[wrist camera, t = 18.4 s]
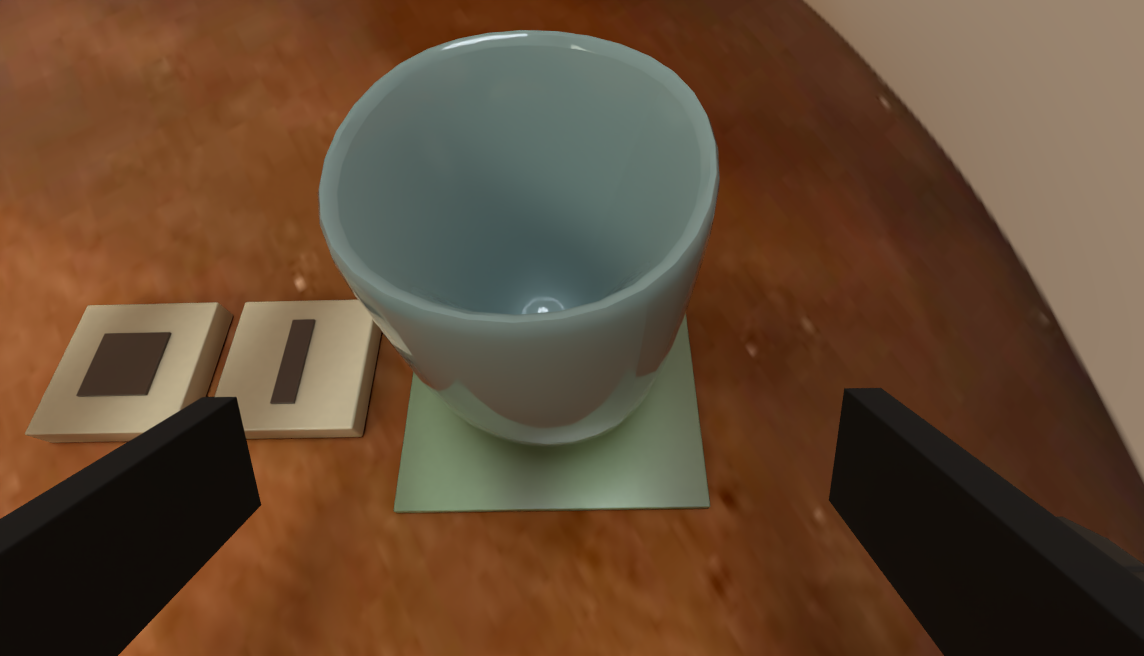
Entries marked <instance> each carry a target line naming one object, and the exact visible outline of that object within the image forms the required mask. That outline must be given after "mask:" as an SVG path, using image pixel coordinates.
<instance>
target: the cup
mask: <svg viewBox="0 0 1144 656" xmlns="http://www.w3.org/2000/svg"><path fill="white" fill-rule="evenodd" d="M718 192H719V159H718V146H717V143H716V139H715V136H714V133H713V129H712V126H711V122H710V120H709V118H708V116H707V114H706V113H705V111H704V109H703V107H702V106H701V104H700V102H699V100H698V99H697V97H696V95H695V94H694V92H693V91H692V90H691V89H690V88H689V87H688V86H687V85H686V84H685V83H684V82H683V81H682V80H681V79H680V77H679V76H678V75H677V74H676V73H675V72H673V71H672V70H670V69H669V68H667V67H666V66H664V65H663V64H661V63H659V62H658V61H656V60H655V59H653V58H652V57H650V56H648V55H646V54H643V53H641V52H638V51H636V50H634V49H631V48H629V47H626V46H624V45H622V44H618V43H614V42H611V41H607V40H603V39H599V38H595V37H591V36H586V35H579V34H572V33H565V32H557V31H529V30H520V31H507V32H494V33H486V34H481V35H476V36H471V37H465V38H460V39H456V40H453V41H450V42H447V43H444V44H441V45H438V46H436V47H433V48H430V49H427V50H425V51H423V52H421V53H419V54H417V55H416V56H414V57H412V58H410V59H408V60H406V61H404V62H402V63H401V64H399V65H398V66H396V67H395V68H394V69H392V70H391V71H390V72H388V73H387V74H386V75H385V76H383V77H382V78H381V79H379V80H378V81H377V82H375V83H374V84H373V85H372V86H371V88H370V89H369V90H368V91H367V92H366V93H365V94H364V95H363V96H362V97H361V98H360V99H359V100H358V101H357V102H356V103H355V105H354V106H353V107H352V109H351V110H350V112H349V113H348V115H347V116H346V118H345V119H344V121H343V122H342V124H341V125H340V127H339V128H338V130H337V131H336V134H335V136H334V138H333V141H332V143H331V145H330V148H329V150H328V152H327V155H326V157H325V160H324V164H323V170H322V175H321V180H320V185H319V190H318V206H319V223H320V226H321V229H322V232H323V235H324V238H325V240H326V243H327V246H328V248H329V251H330V253H331V256H332V259H333V261H334V264H335V265H336V267H337V269H338V271H339V272H340V274H341V276H342V277H343V279H344V280H345V282H346V283H347V285H348V286H349V288H350V289H351V291H352V292H353V293H354V295H355V296H356V298H357V299H358V300H359V302H360V303H361V304H362V306H363V307H364V308H365V310H366V311H367V312H368V314H369V315H370V316H371V318H372V319H373V321H374V322H375V323H376V324H377V326H378V327H379V328H380V330H381V331H382V332H383V334H384V335H385V336H386V338H387V339H388V340H389V342H390V343H391V344H392V345H393V347H394V348H395V349H396V351H397V352H398V353H399V354H400V356H401V357H402V358H403V359H404V360H405V362H406V363H407V364H408V365H409V367H410V368H411V369H412V370H413V372H414V373H415V374H416V375H417V376H418V378H419V379H420V380H421V381H422V382H423V384H424V385H425V386H426V387H427V388H428V389H429V390H430V391H431V393H432V394H433V395H434V396H435V397H436V398H437V399H438V400H439V401H441V402H442V403H443V404H444V405H445V406H446V407H448V408H449V409H450V410H452V411H453V412H454V413H456V414H457V415H458V416H460V417H461V418H462V419H464V420H465V421H466V422H468V423H469V424H471V425H472V426H474V427H476V428H478V429H480V430H482V431H484V432H487V433H489V434H491V435H493V436H495V437H498V438H500V439H503V440H507V441H511V442H515V443H519V444H522V445H530V446H541V447H556V446H568V445H574V444H578V443H582V442H585V441H589V440H592V439H595V438H597V437H599V436H601V435H603V434H605V433H607V432H609V431H610V430H612V429H614V428H616V427H617V426H618V425H619V424H621V423H622V422H623V421H624V420H625V419H626V418H627V417H628V416H629V415H631V414H632V413H633V412H634V411H635V410H636V409H637V408H638V406H639V405H640V404H641V403H642V401H643V400H644V398H645V397H646V395H647V394H648V392H649V391H650V390H651V388H652V387H653V385H654V384H655V382H656V381H657V379H658V377H659V375H660V374H661V372H662V370H663V367H664V365H665V363H666V361H667V358H668V356H669V354H670V351H671V349H672V346H673V344H674V342H675V339H676V337H677V334H678V332H679V329H680V327H681V324H682V321H683V319H684V316H685V313H686V310H687V307H688V305H689V302H690V299H691V296H692V293H693V290H694V287H695V284H696V281H697V278H698V275H699V271H700V268H701V265H702V262H703V259H704V256H705V252H706V249H707V246H708V242H709V238H710V235H711V230H712V225H713V219H714V214H715V208H716V203H717V197H718Z"/></svg>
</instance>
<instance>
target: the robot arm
mask: <svg viewBox="0 0 1144 656" xmlns="http://www.w3.org/2000/svg"><path fill="white" fill-rule="evenodd" d="M829 501H830V502H831V504H832V505H833V506H834V508H835V509H836V510H837V512H838V513H839V515H840V516H841V517H842V519H843V520H844V521H845V523H846V524H847V525H848V527H849V528H850V529H851V531H852V532H853V533H854V535H855V536H856V537H857V539H858V540H859V541H860V543H861V544H862V545H863V547H864V548H865V550H866V551H867V552H868V554H869V555H870V556H871V558H872V559H873V560H874V562H875V563H876V564H877V566H878V567H879V568H880V570H881V571H882V572H883V574H884V575H885V576H886V578H887V579H888V581H889V582H890V583H891V585H892V586H893V587H894V589H895V590H896V591H897V593H898V594H899V595H900V597H901V598H902V599H903V601H904V602H905V603H906V605H907V606H908V607H909V609H910V610H911V611H912V613H913V614H914V616H915V617H916V618H917V620H918V621H919V622H920V624H921V625H922V626H923V628H924V629H925V630H926V632H927V633H928V634H929V636H930V637H931V638H932V640H933V641H934V642H935V644H936V645H937V646H938V648H939V649H940V651H941V652H942V653H943V655H944V656H1144V564H1143V563H1141V562H1140V561H1138V560H1137V559H1136V558H1134V557H1133V556H1131V555H1130V554H1128V553H1127V552H1126V551H1124V550H1123V549H1121V548H1120V547H1119V546H1117V545H1116V544H1114V543H1113V542H1111V541H1110V540H1109V539H1107V538H1105V537H1103V536H1101V535H1099V534H1097V533H1095V532H1093V531H1091V530H1089V529H1087V528H1084V527H1082V526H1080V525H1078V524H1076V523H1074V522H1072V521H1070V520H1068V519H1066V518H1064V517H1055V516H1054V515H1053V514H1051V513H1050V512H1048V511H1047V510H1046V509H1044V508H1043V507H1042V506H1040V505H1039V504H1038V503H1036V502H1035V501H1034V500H1032V499H1031V498H1029V497H1028V496H1027V495H1025V494H1024V493H1023V492H1021V491H1020V490H1019V489H1017V488H1016V487H1015V486H1013V485H1012V484H1010V483H1009V482H1008V481H1006V480H1005V479H1004V478H1002V477H1001V476H1000V475H998V474H997V473H996V472H994V471H993V470H991V469H990V468H989V467H987V466H986V465H985V464H983V463H982V462H981V461H979V460H978V459H977V458H975V457H974V456H972V455H971V454H970V453H968V452H967V451H966V450H964V449H963V448H962V447H960V446H959V445H958V444H956V443H955V442H953V441H952V440H951V439H949V438H948V437H947V436H945V435H944V434H943V433H941V432H940V431H939V430H937V429H936V428H934V427H933V426H932V425H930V424H929V423H928V422H926V421H925V420H924V419H922V418H921V417H920V416H918V415H917V414H915V413H914V412H913V411H911V410H910V409H909V408H907V407H906V406H905V405H903V404H902V403H901V402H899V401H898V400H896V399H895V398H894V397H892V396H891V395H890V394H888V393H887V392H886V391H884V390H883V389H882V388H849V389H844V395H843V402H842V410H841V417H840V424H839V431H838V438H837V446H836V453H835V460H834V467H833V474H832V482H831V489H830V496H829ZM260 506H261V502H260V498H259V494H258V489H257V485H256V480H255V476H254V472H253V467H252V463H251V458H250V454H249V450H248V445H247V441H246V436H245V432H244V427H243V423H242V419H241V414H240V410H239V405H238V401H237V397H202V398H200V399H198V400H197V401H195V402H193V403H192V404H190V405H188V406H187V407H185V408H183V409H182V410H180V411H178V412H177V413H175V414H173V415H172V416H170V417H168V418H167V419H165V420H163V421H162V422H160V423H158V424H157V425H155V426H154V427H152V428H150V429H149V430H147V431H145V432H144V433H142V434H140V435H139V436H137V437H135V438H134V439H132V440H130V441H129V442H127V443H125V444H124V445H122V446H120V447H119V448H117V449H115V450H114V451H112V452H110V453H109V454H107V455H106V456H104V457H102V458H101V459H99V460H97V461H96V462H94V463H92V464H91V465H89V466H87V467H86V468H84V469H82V470H81V471H79V472H77V473H76V474H74V475H72V476H71V477H69V478H67V479H66V480H64V481H62V482H61V483H59V484H58V485H56V486H54V487H53V488H51V489H49V490H48V491H46V492H44V493H43V494H41V495H39V496H38V497H36V498H34V499H33V500H31V501H29V502H28V503H26V504H24V505H23V506H21V507H19V508H18V509H16V510H14V511H13V512H11V513H10V514H8V515H6V516H5V517H3V518H1V519H0V656H118V655H119V654H120V653H121V652H122V651H123V650H124V649H125V648H126V647H127V645H128V644H129V643H130V642H131V641H132V640H133V639H134V638H135V637H136V636H137V635H138V634H139V633H140V632H141V631H142V630H143V629H144V628H145V627H146V626H147V624H148V623H149V622H150V621H151V620H152V619H153V618H154V617H155V616H156V615H157V614H158V613H159V612H160V611H161V610H162V609H163V608H164V607H165V606H166V604H167V603H168V602H169V601H170V600H171V599H172V598H173V597H174V596H175V595H176V594H177V593H178V592H179V591H180V590H181V589H182V588H183V587H184V586H185V585H186V583H187V582H188V581H189V580H190V579H191V578H192V577H193V576H194V575H195V574H196V573H197V572H198V571H199V570H200V569H201V568H202V567H203V566H204V565H205V563H206V562H207V561H208V560H209V559H210V558H211V557H212V556H213V555H214V554H215V553H216V552H217V551H218V550H219V549H220V548H221V547H222V546H223V545H224V543H225V542H226V541H227V540H228V539H229V538H230V537H231V536H232V535H233V534H234V533H235V532H236V531H237V530H238V529H239V528H240V527H241V526H242V525H243V524H244V522H245V521H246V520H247V519H248V518H249V517H250V516H251V515H252V514H253V513H254V512H255V511H256V510H257V509H258V508H259V507H260Z"/></svg>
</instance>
